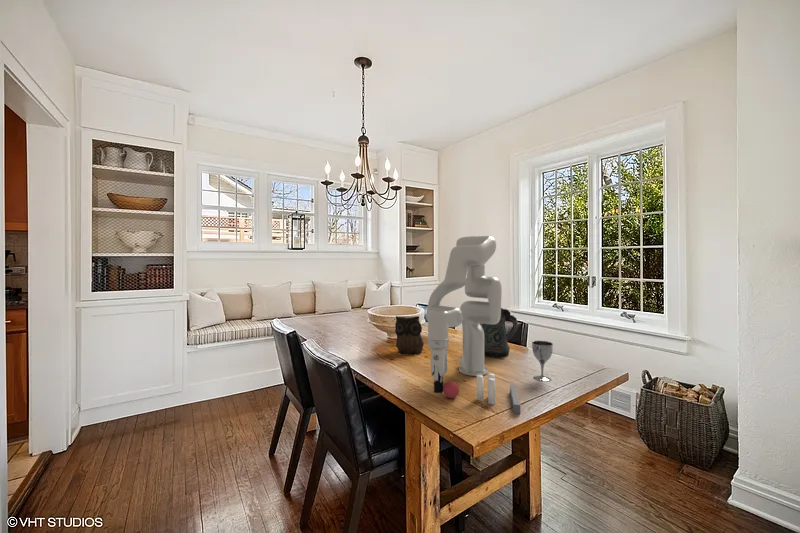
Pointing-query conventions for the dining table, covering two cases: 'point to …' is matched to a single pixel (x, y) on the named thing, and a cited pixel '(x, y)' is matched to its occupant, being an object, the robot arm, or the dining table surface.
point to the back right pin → (491, 391)
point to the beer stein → (498, 336)
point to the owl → (408, 335)
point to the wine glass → (542, 356)
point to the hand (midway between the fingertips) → (438, 392)
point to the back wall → (515, 399)
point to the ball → (450, 389)
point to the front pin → (480, 387)
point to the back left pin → (491, 376)
